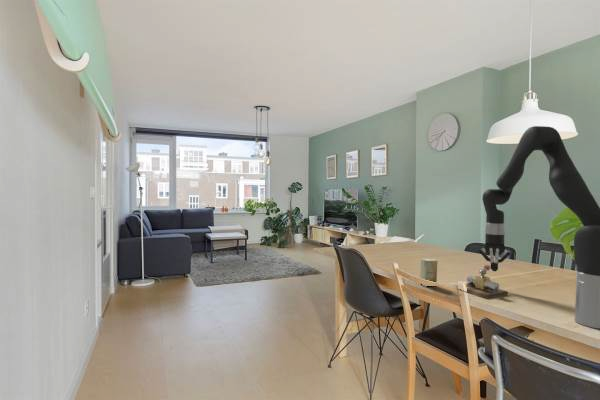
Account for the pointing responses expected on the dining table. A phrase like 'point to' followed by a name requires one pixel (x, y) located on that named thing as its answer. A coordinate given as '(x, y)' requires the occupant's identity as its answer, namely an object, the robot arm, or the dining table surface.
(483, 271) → the lever
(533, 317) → the dining table surface
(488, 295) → the mounting board
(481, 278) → the valve
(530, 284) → the dining table surface
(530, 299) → the dining table surface
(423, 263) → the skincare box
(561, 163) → the robot arm
